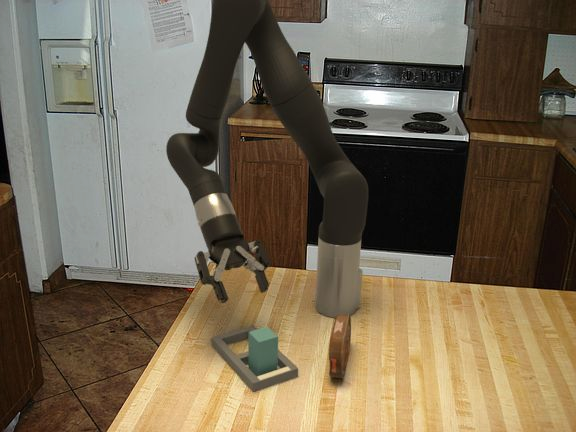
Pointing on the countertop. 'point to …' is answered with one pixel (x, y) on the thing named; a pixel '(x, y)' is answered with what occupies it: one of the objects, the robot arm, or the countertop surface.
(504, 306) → the countertop surface
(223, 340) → the frame
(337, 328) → the tin
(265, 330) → the block
